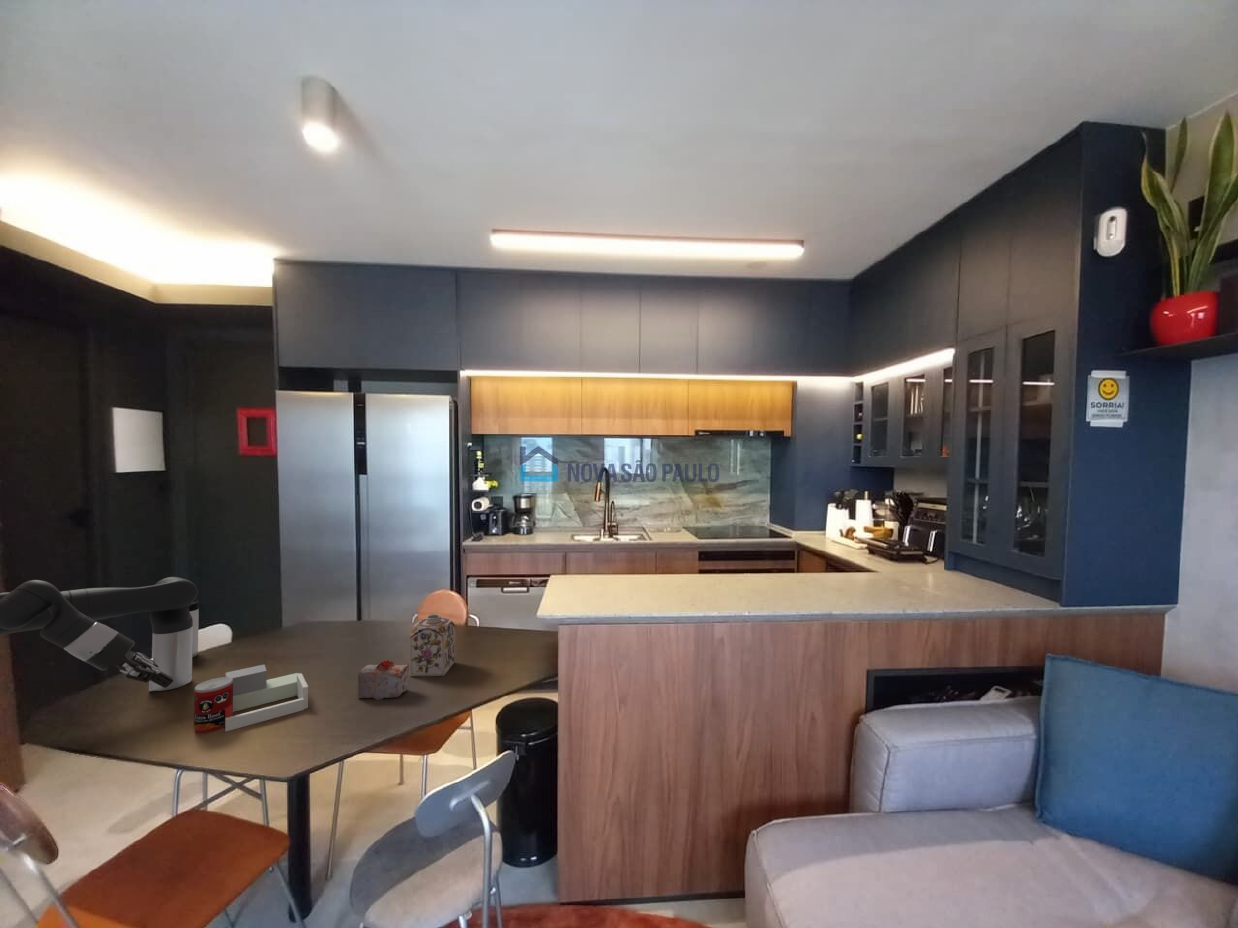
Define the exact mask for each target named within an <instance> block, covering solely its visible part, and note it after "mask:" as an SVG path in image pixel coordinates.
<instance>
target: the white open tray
mask: <svg viewBox="0 0 1238 928" xmlns="http://www.w3.org/2000/svg"><path fill="white" fill-rule="evenodd" d="M267 673H268V670H267V668H266V665H265V664H260V665H259V664H258V665H255V666H252V667H251V666H250V667H245V668H241V669H237V670H231V671H227V672H225V677H230V678H232V679H233V713H234V712H237V711H241V710H246V709H250V708H254V707H257V706H261V705H265V704H268V703H273V702H276V701H281V700H285V699H288V698H293V697H295V696H297V699H293V700H288V701H285V702H282V703H278V704H274V705H269V706H266V707H262V708H259V709H255V710H250V711H248V712H244V713H240V714H236V715H233V716H231V717H228V718H225V726H224V727H225V729H224V730H225V732H229V731H233V730H236V729H240V728H244V727H247V726H251V725H254V724H259V723H262V722H265V721H268V720H272V719H276V718H280V717H283V716H287V715H290V714H294V713H298V712H301V711H305V709H308V708H309V684H308V683H307V682H306V679H305V677H304V674H302V672H301V673H299V672H295V673H290V674H287V675H282V676H277V677H274V678H270V679H267V678H268V676H267V675H268V674H267Z"/></svg>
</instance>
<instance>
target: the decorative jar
mask: <svg viewBox="0 0 1238 928" xmlns="http://www.w3.org/2000/svg"><path fill="white" fill-rule="evenodd" d="M455 662H456V624H455V622H453V621H452V620H451V619H449V618H448V617H447V618H446V617H442V615H441V614H438V613H436V614H430V615H427V616H426V618H425V619H422V620H419V621H417V622H416V623H414V625H413V628H412V630H411V632H410V635H409V677H444V676H445V675H446V674H447V673H448V672H449V670H450V669H451V668H452V667H453V665H454V664H455Z"/></svg>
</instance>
